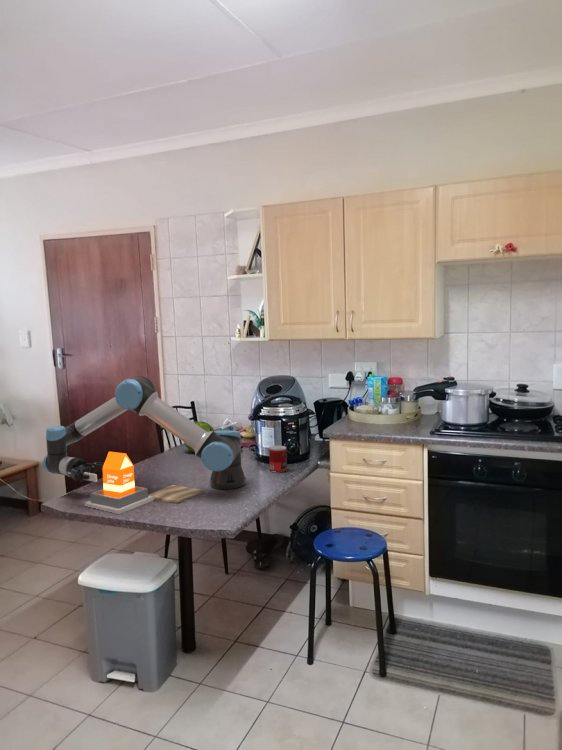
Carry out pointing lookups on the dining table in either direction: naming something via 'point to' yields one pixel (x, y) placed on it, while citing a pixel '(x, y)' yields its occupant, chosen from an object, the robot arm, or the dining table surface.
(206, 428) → the lettuce
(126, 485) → the orange juice
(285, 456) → the canned food
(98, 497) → the collar holder
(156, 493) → the oak board
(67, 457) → the robot arm
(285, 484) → the dining table surface
